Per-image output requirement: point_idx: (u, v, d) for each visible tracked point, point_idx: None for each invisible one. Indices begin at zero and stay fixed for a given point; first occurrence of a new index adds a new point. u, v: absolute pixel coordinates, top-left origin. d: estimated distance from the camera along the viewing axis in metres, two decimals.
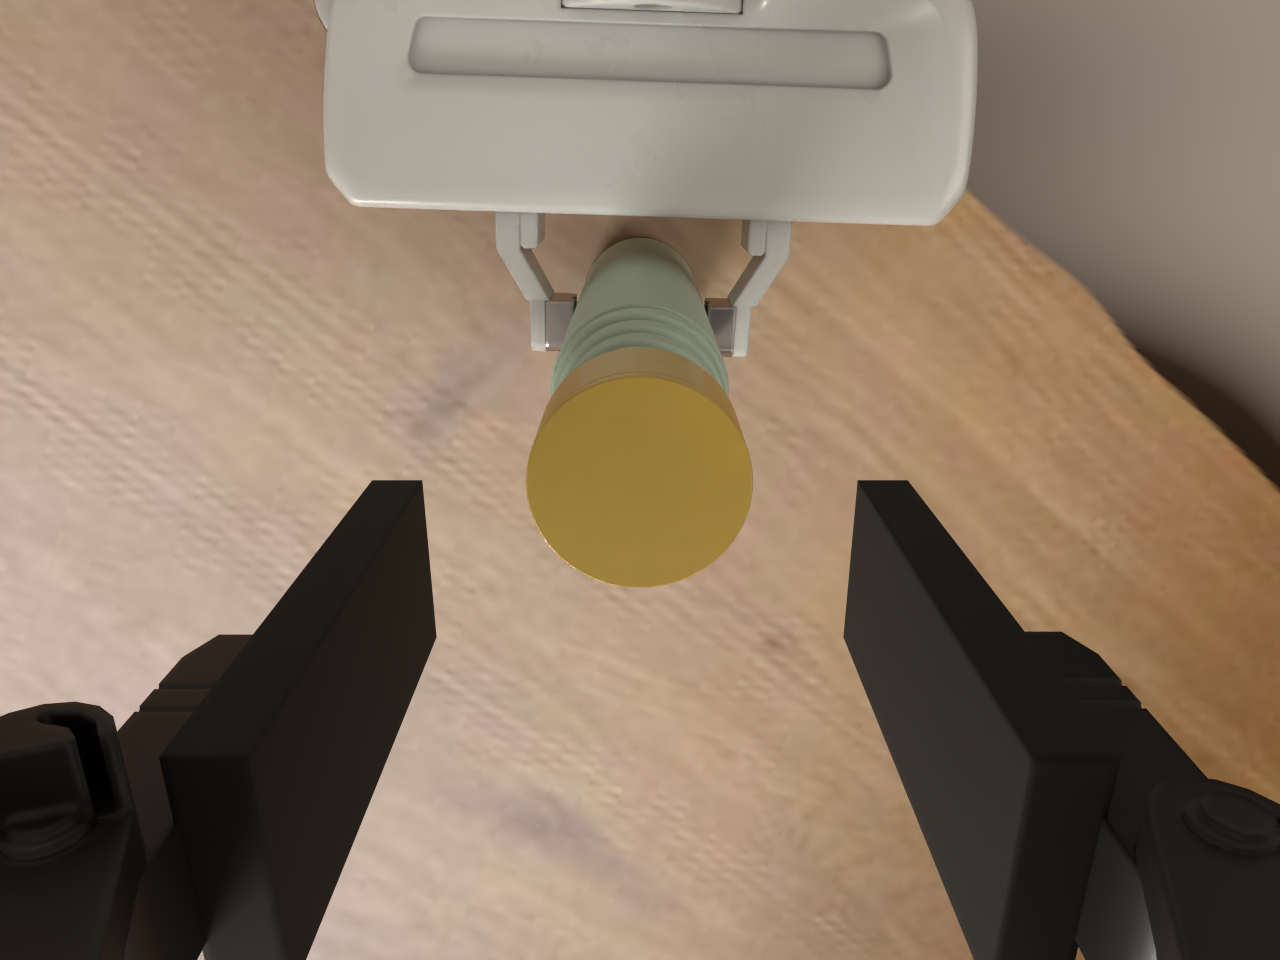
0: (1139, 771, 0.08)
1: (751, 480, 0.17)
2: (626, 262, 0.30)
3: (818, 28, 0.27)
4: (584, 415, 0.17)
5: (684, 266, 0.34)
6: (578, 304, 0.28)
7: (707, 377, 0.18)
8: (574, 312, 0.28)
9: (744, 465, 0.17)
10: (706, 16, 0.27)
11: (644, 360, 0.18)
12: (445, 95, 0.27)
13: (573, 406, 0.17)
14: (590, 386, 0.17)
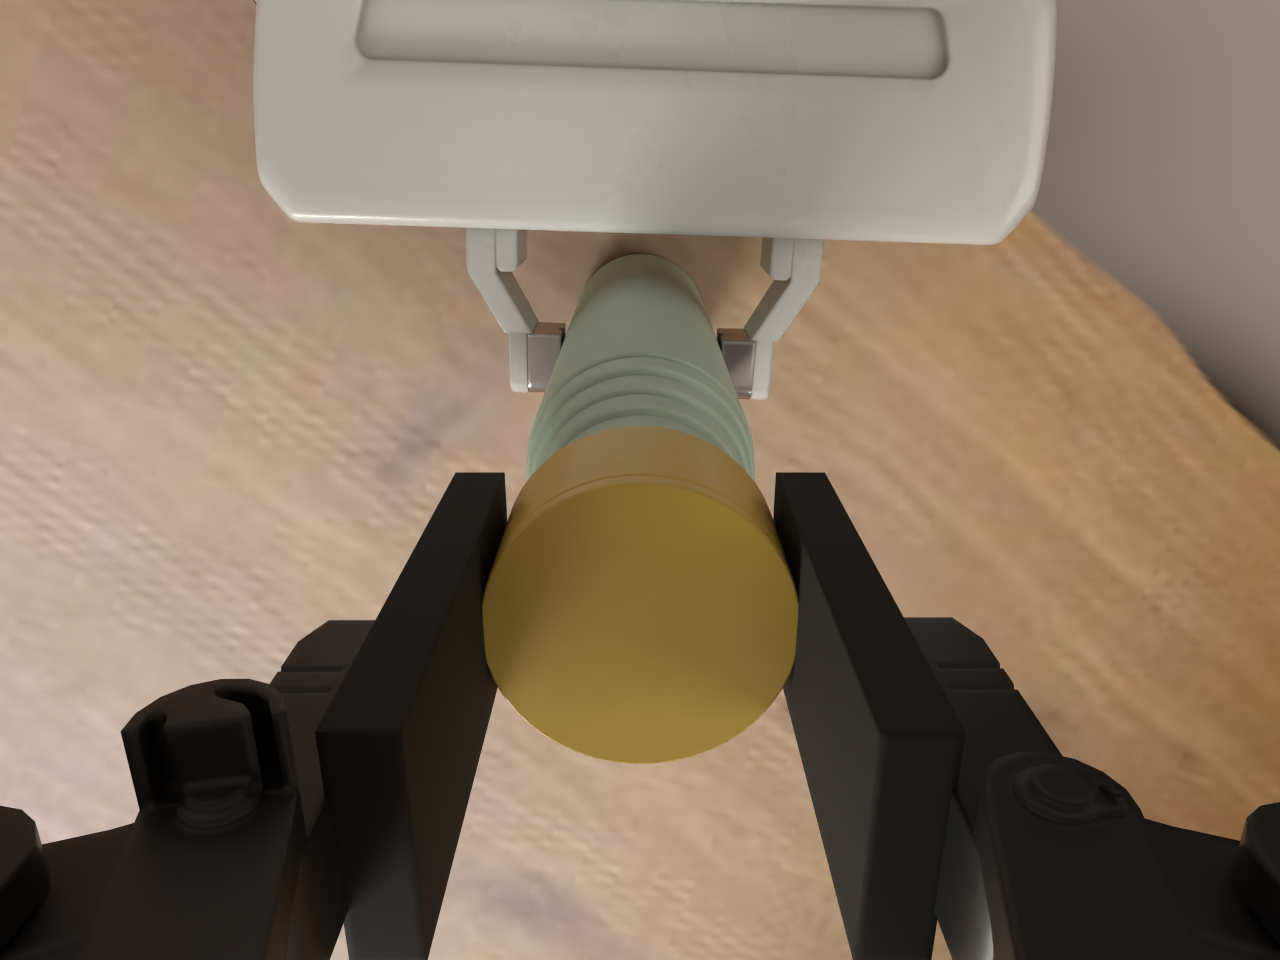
0: (996, 747, 0.09)
1: None
2: (624, 288, 0.25)
3: (860, 3, 0.22)
4: (562, 536, 0.12)
5: (692, 289, 0.29)
6: (565, 341, 0.23)
7: (734, 469, 0.13)
8: (560, 351, 0.23)
9: (789, 604, 0.12)
10: None
11: (647, 451, 0.13)
12: (402, 87, 0.22)
13: (546, 524, 0.12)
14: (570, 496, 0.11)
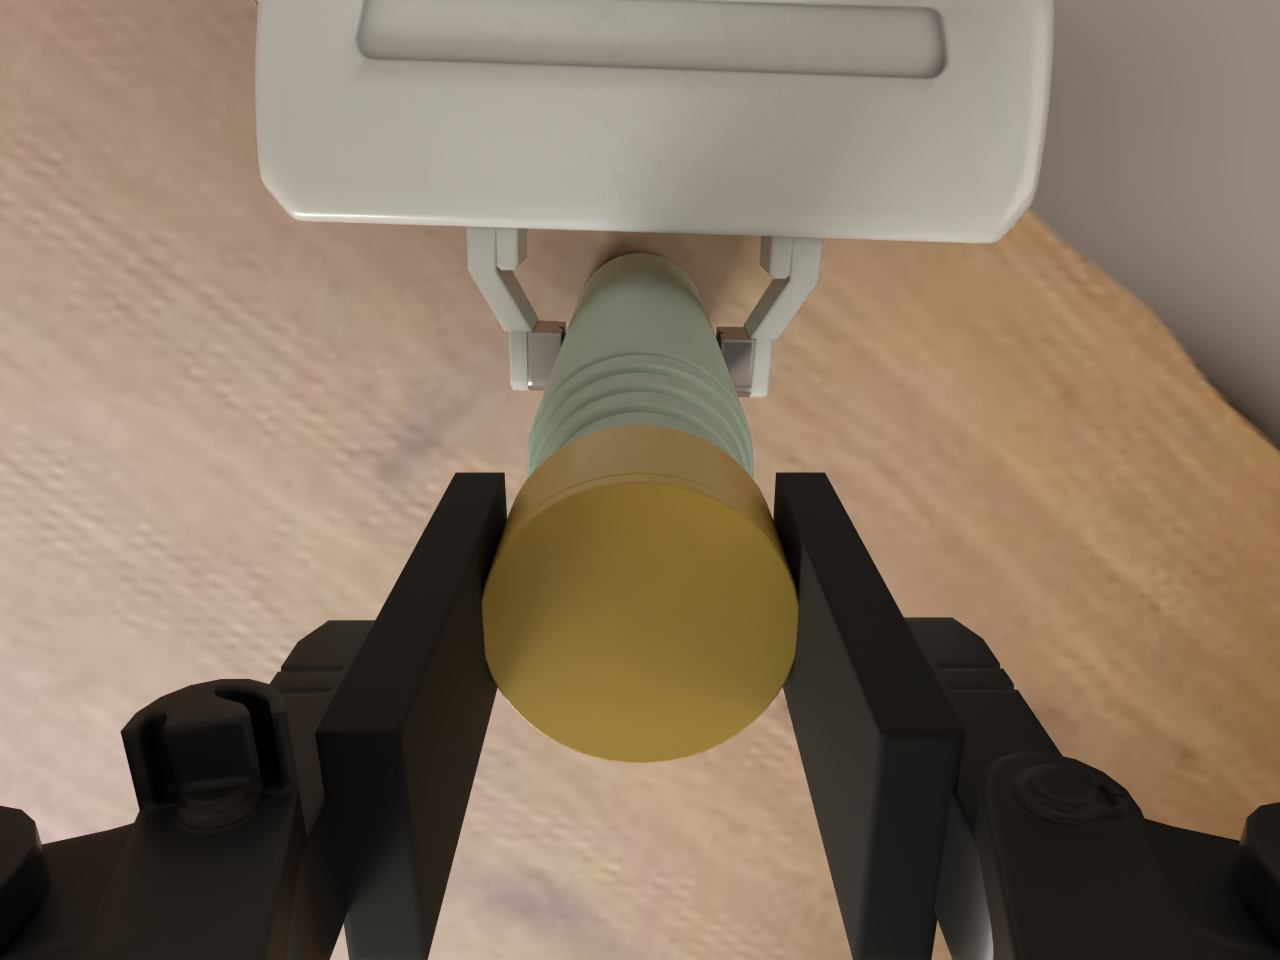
0: (997, 748, 0.09)
1: (553, 507, 0.11)
2: (624, 286, 0.25)
3: (859, 2, 0.22)
4: (583, 728, 0.13)
5: (692, 288, 0.29)
6: (565, 339, 0.23)
7: None
8: (560, 349, 0.23)
9: (538, 526, 0.12)
10: None
11: None
12: (403, 86, 0.22)
13: (579, 744, 0.13)
14: (546, 735, 0.13)
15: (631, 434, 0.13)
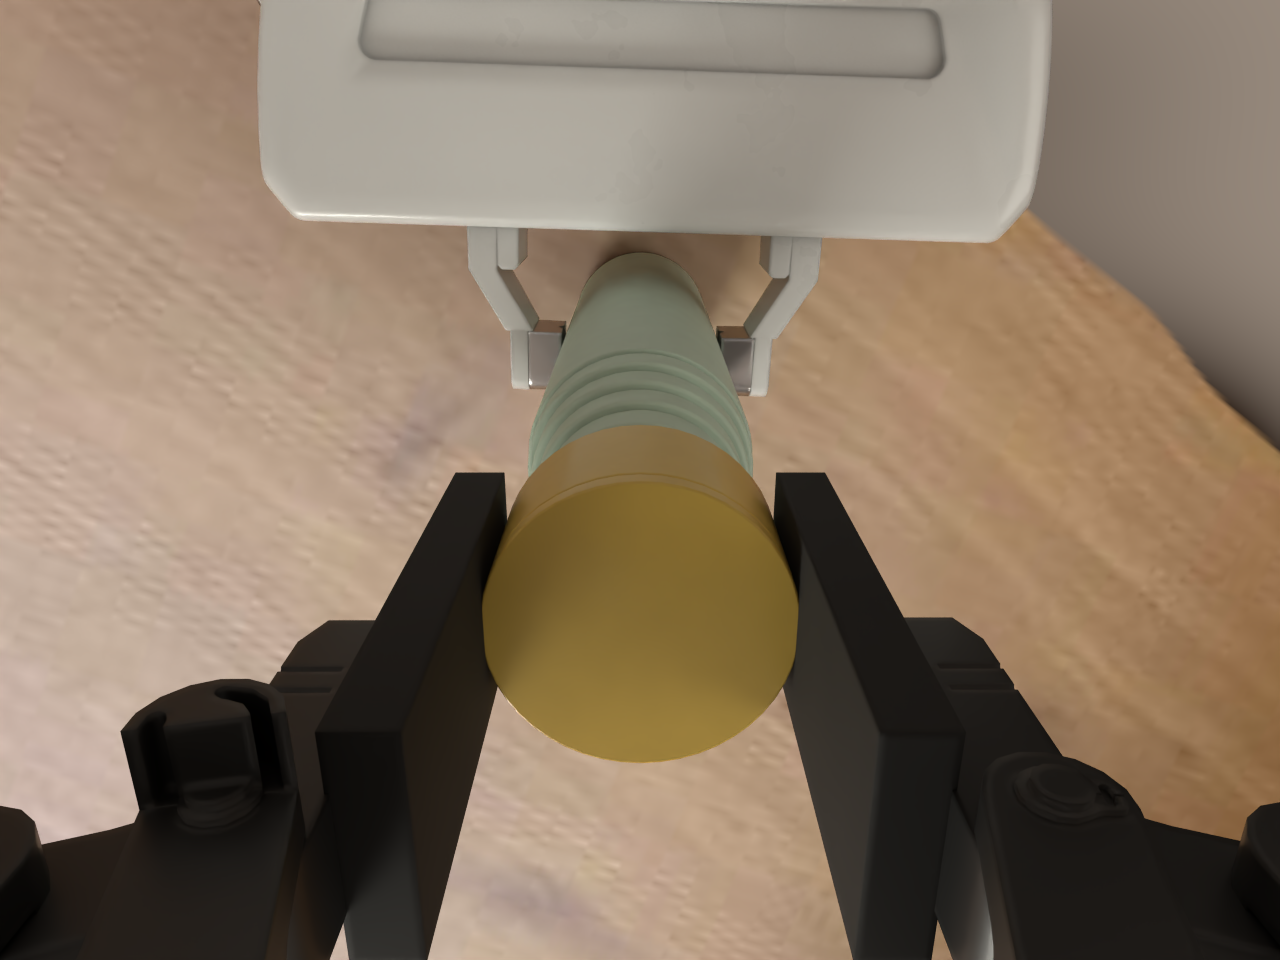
0: (997, 748, 0.09)
1: None
2: (624, 286, 0.25)
3: (857, 4, 0.22)
4: (770, 630, 0.12)
5: (692, 287, 0.29)
6: (566, 338, 0.24)
7: None
8: (561, 348, 0.23)
9: (585, 748, 0.13)
10: None
11: None
12: (404, 87, 0.23)
13: (789, 626, 0.12)
14: None
15: None
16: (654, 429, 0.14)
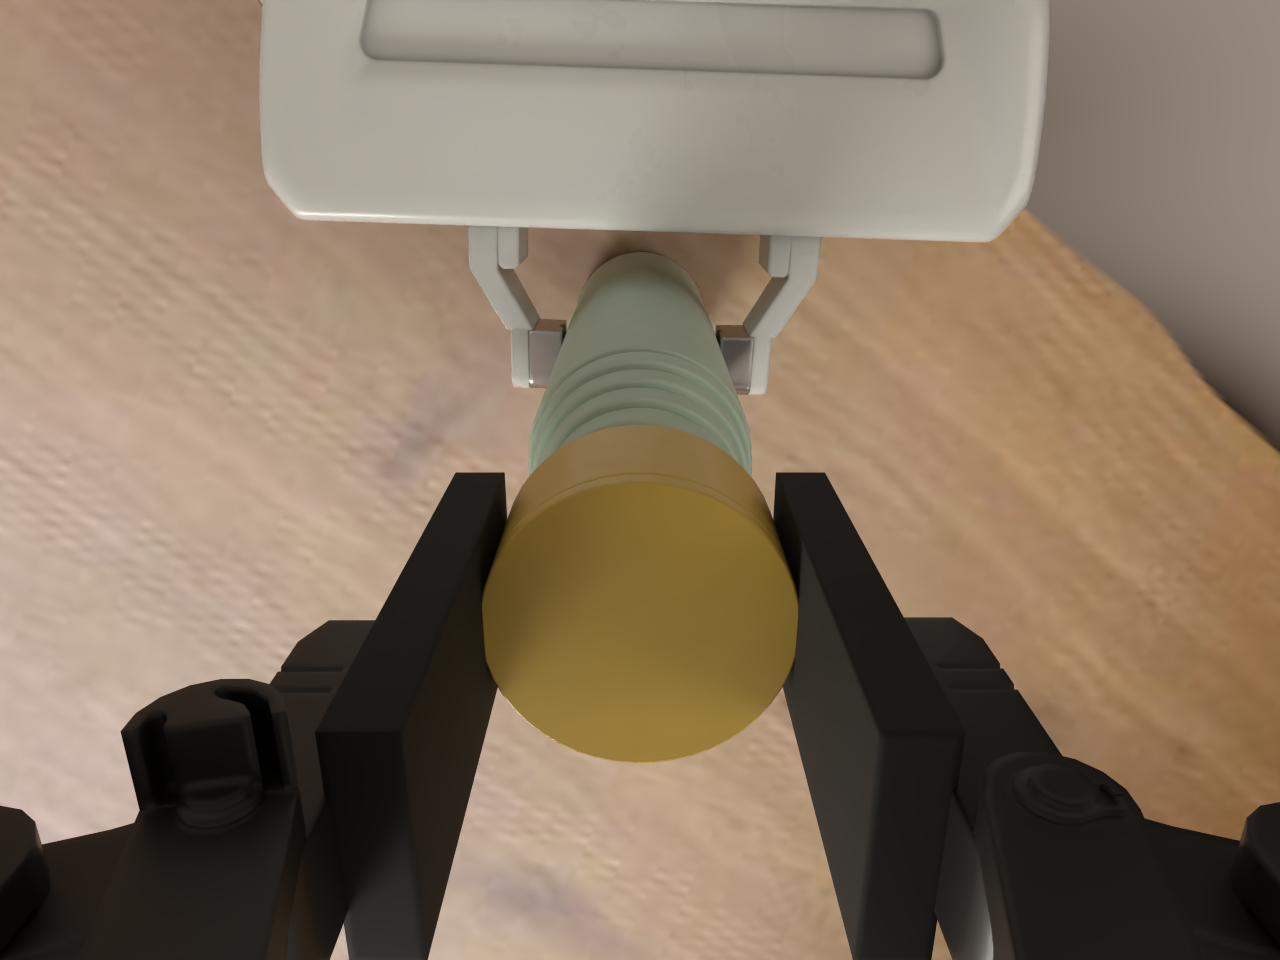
0: (996, 748, 0.09)
1: None
2: (624, 285, 0.25)
3: (856, 4, 0.22)
4: (576, 527, 0.12)
5: (691, 286, 0.29)
6: (566, 337, 0.24)
7: (747, 480, 0.13)
8: None
9: (791, 620, 0.12)
10: None
11: (667, 452, 0.13)
12: (405, 87, 0.23)
13: (562, 513, 0.12)
14: (590, 488, 0.11)
15: None
16: None
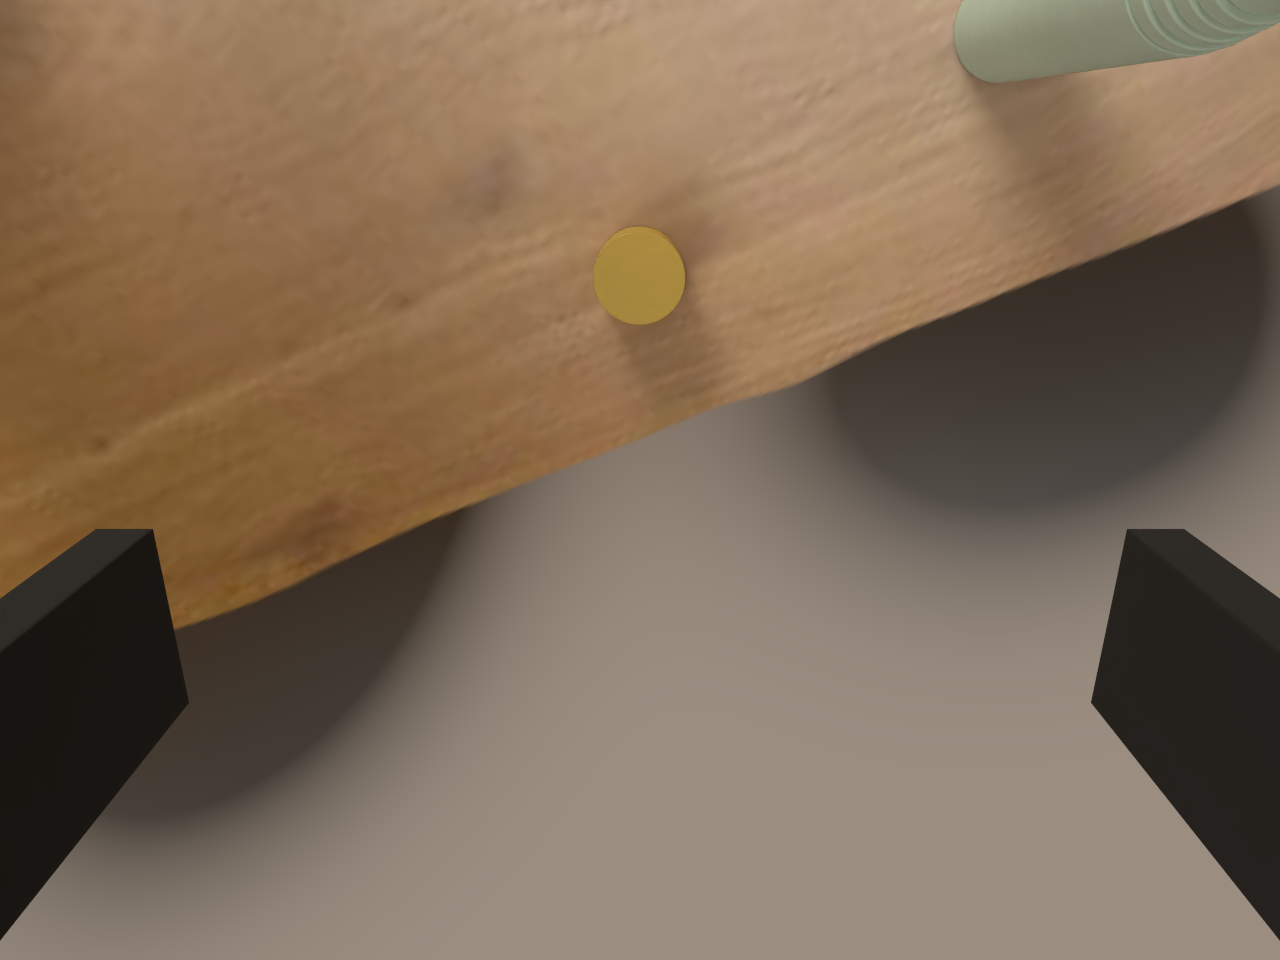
0: None
1: (684, 281, 0.42)
2: None
3: None
4: (621, 245, 0.42)
5: None
6: None
7: (672, 242, 0.43)
8: None
9: (682, 275, 0.42)
10: None
11: (647, 229, 0.43)
12: None
13: (617, 241, 0.42)
14: (625, 233, 0.42)
15: None
16: None
